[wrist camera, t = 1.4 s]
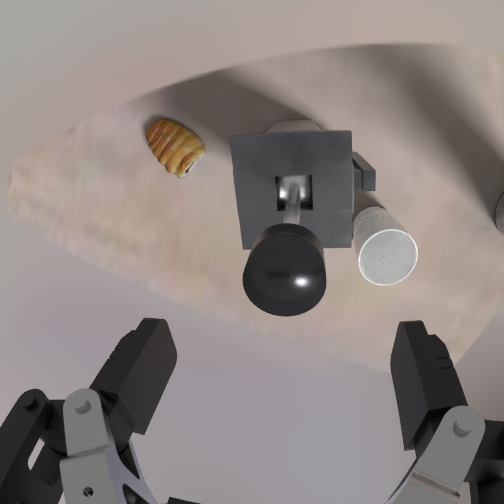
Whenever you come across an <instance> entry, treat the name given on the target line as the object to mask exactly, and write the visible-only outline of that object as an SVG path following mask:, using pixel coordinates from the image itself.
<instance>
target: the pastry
mask: <svg viewBox="0 0 504 504" xmlns="http://www.w3.org/2000/svg"><path fill="white" fill-rule="evenodd" d="M146 133H147V136H146V137H147V140H148V142H149V147H150V148H151V149H152V150H153V154H154V156H156V157H157V159H158V162H160V163H161V164H163V165H164V166H165V167H166V170H167V171H168V172H169V173H173V174H175V175H177V176H178V178H183V177H185V176H186V174H187V173H188V172H189V171H191V170H192V169H193V167H194V166H195V165H196V163H197V162H198V161H200V160H202V158H203V157H204V156H205V153H206V150H205V147H204V145H203V143H202V141H201V139H200V138H199V137H198V136H197V135H196V134H195V133H193V132H191V131H190V130H188V129H187V128H185V127H183V126H181V125H179V124H177V123H174V122H172V121H170V120H165V119H163V120H157V121H155V122H154V123H152V125H151V126H150V127H148V128H147V130H146Z"/></svg>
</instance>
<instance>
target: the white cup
mask: <svg viewBox="0 0 504 504" xmlns="http://www.w3.org/2000/svg"><path fill="white" fill-rule="evenodd" d="M352 231H353V238H354V246H355V251H356V256H357V261H358V266H359V269H360V272H361V274H362V275H363V276H364V277H365V278H366V279H367V280H368V281H370V282H371V283H374V284H377V285H392V284H395V283H398V282H400V281H401V280H403V279H404V278H406V277H407V276H408V275H409V274H410V273H411V271H412V270H413V268H414V267H415V264H416V261H417V256H418V251H417V246H416V243H415V241H414V240H413V238H412V237H411V236H410V235H409V233H408V232H407V231H406V230H405V229H404V227H403V226H402V225H401V224H400V223H399V222H398V221H397V220H396V218H394V217H393V216H392V215H391V214H390V213H389V212H388V211H387V210H386V209H383V208H381V207H378V206H377V207H368V208H366V209H364V210H362V211H361V212H359V214H358V215H357V216H356V218H355V219H354V222H353V227H352Z"/></svg>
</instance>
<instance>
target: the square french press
mask: <svg viewBox="0 0 504 504" xmlns="http://www.w3.org/2000/svg"><path fill="white" fill-rule="evenodd" d="M230 145H231V154H232V162H233V176H234V185H235V193H236V201H237V210H238V216H239V220H240V229H241V237H242V245H243V250H246V249H252V246H253V243H254V241H255V240H256V238H257V237H258V235H259V234H260V233H261V232H262V231H264V230H265V229H267V228H268V227H270V226H273V225H276V224H280V223H283V220H284V215H285V209H286V208H278V201H277V188H276V176H295V175H312V193H313V207H300V217H299V225H301V226H303V227H305V228H307V229H309V230H310V231H311V232H313V233H314V234H315V235H316V237H317V238H318V239H319V241H320V243H321V245H322V247H323V248H351V241H352V214H353V212H354V188H362V190H363V191H375V180H376V170H375V169H374V168H373V167H372V166H371V165H370V164H369V163H368V162H367V161H366V160H365V159H364V158H362V157H361V156H360V155H359V154H358V153H357V152H352V133H351V131H350V130H329V131H323V130H322V129H321V128H320V127H319V126H318V125H317V124H315V123H314V122H313V121H312V120H310V119H303V120H282V121H279V122H278V123H276V124H275V125H274V126H272V127H271V128H270V129H269V130H267V131H266V132H265V133H261V134H248V135H237V136H231V137H230Z"/></svg>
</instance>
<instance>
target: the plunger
mask: <svg viewBox="0 0 504 504" xmlns="http://www.w3.org/2000/svg"><path fill="white" fill-rule="evenodd" d="M276 188H277V201H278V208H286V209H285V215H284V220H283V223H280V224H276V225H273V226H270V227H268V228H267V229H265V230H264V231H262V232H261V233H260V234H259V235H258V237H257V238H256V240H255V241H254V243H253V246H252V249H251V252H250V255H249V258H248V260H247V263H246V266H245V269H244V273H243V287H244V290H245V293H246V295H247V296H248V298H249V299H250V301H251V302H252V303H253V304H254V305H255V306H257V307H258V308H259V309H261V310H263V311H265V312H267V313H269V314H273V315H277V316H295V315H299V314H302V313H305V312H307V311H309V310H310V309H312V308H313V307H315V306H316V305H317V304H318V303H319V301H320V300H321V299H322V297H323V295H324V293H325V289H326V271H325V261H324V252H323V247H322V245H321V243H320V241H319V239H318V238H317V237H316V235H315V234H314V233H313V232H311V231H310V230H309V229H307V228H305V227H303V226H301V225H299V217H300V207H313V193H312V175H295V176H276Z"/></svg>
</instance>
